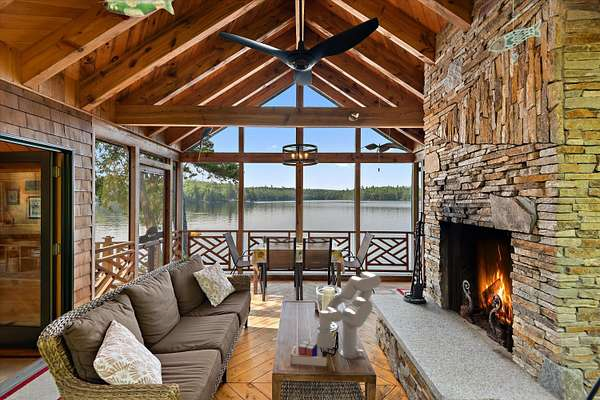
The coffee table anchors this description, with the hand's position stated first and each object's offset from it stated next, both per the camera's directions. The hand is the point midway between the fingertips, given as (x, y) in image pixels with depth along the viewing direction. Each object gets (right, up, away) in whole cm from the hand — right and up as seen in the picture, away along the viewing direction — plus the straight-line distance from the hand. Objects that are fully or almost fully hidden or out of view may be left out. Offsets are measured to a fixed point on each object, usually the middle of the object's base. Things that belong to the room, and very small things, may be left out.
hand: (324, 356), depth 227 cm
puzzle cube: (-11, -3, +2) cm, 12 cm away
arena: (-10, -3, +2) cm, 11 cm away
